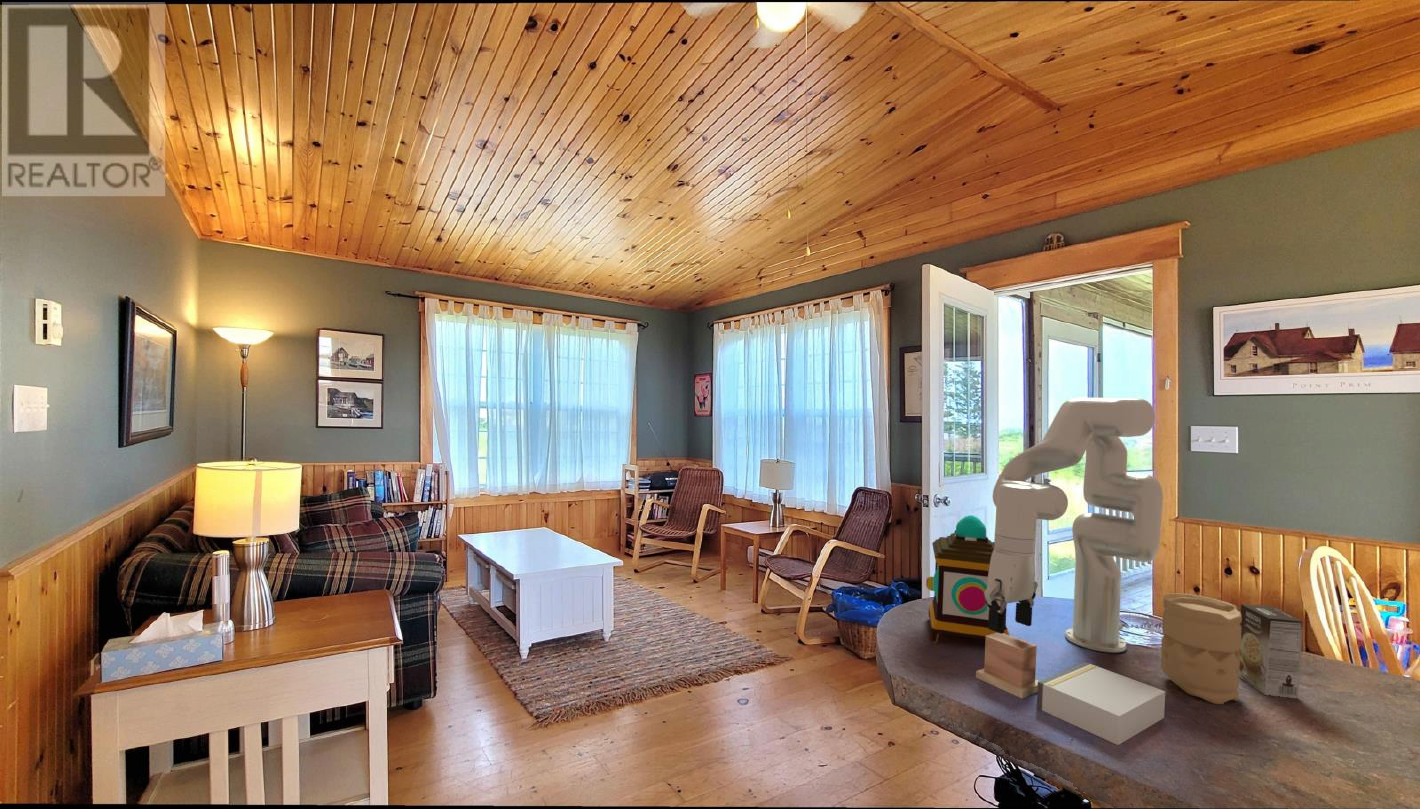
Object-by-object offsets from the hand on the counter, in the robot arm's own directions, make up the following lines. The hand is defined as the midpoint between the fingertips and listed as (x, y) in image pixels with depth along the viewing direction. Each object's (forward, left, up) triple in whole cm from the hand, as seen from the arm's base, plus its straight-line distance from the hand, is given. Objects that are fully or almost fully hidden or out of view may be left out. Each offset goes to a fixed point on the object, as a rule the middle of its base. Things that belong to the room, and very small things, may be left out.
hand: (1009, 627), depth 124 cm
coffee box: (-49, +28, -12) cm, 57 cm away
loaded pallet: (-1, 0, -12) cm, 12 cm away
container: (-34, +21, -12) cm, 41 cm away
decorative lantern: (-16, -20, -12) cm, 28 cm away
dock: (-5, +16, -12) cm, 20 cm away
